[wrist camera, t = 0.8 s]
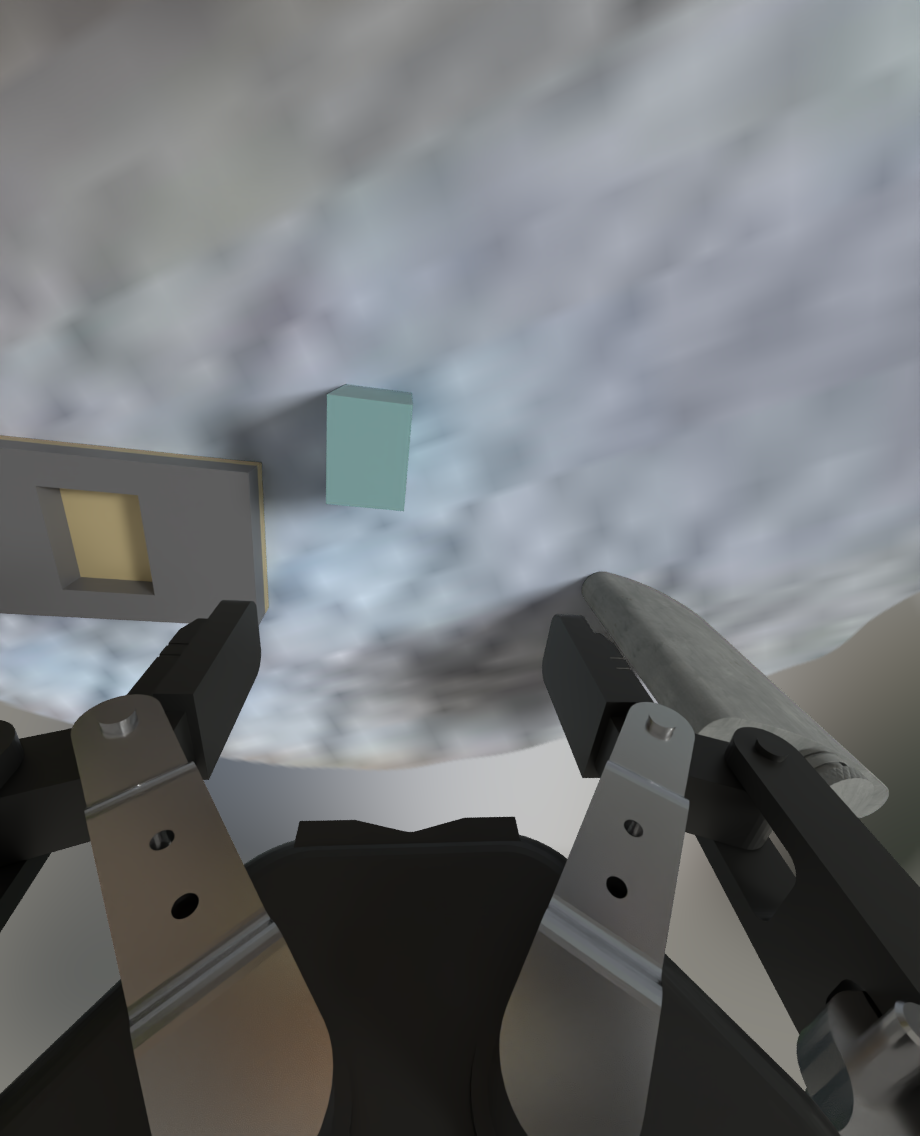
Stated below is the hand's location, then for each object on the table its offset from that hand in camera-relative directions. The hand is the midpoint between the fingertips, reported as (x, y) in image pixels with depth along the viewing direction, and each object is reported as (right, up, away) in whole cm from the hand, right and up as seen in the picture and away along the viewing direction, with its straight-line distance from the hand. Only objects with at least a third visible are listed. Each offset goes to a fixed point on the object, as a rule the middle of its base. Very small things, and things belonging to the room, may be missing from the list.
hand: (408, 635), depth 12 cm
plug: (-5, +12, +20) cm, 24 cm away
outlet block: (-24, +5, +21) cm, 32 cm away
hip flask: (+19, -2, +30) cm, 35 cm away
